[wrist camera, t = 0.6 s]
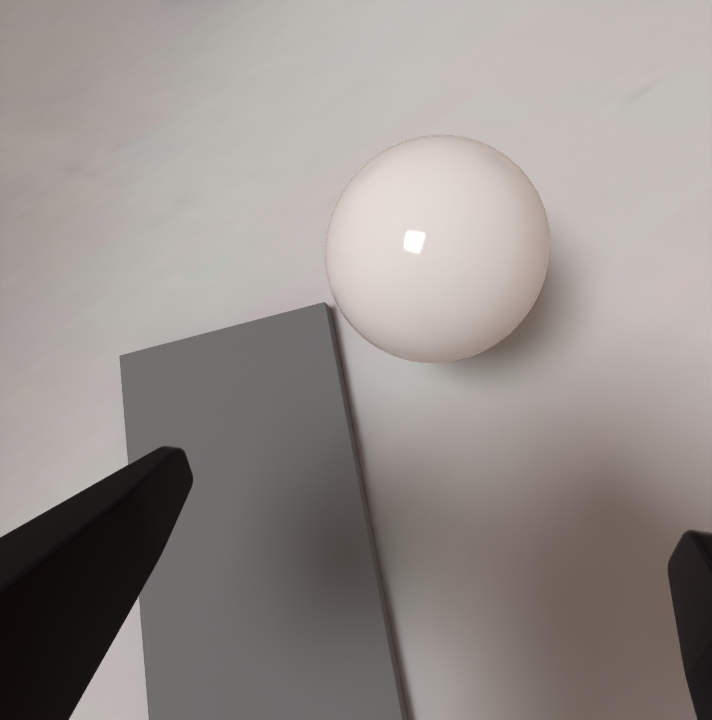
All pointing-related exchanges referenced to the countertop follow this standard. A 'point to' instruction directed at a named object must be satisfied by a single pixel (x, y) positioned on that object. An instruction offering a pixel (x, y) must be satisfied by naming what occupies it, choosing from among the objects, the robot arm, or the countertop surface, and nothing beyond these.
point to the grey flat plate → (261, 531)
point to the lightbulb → (437, 249)
